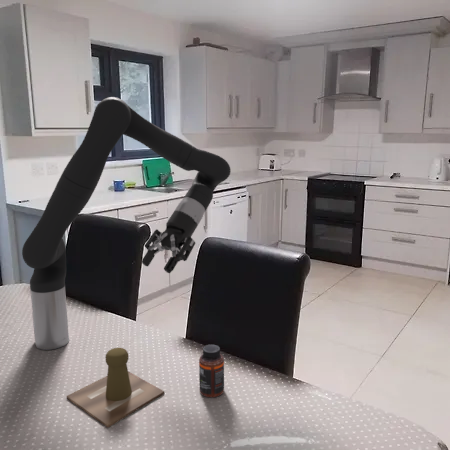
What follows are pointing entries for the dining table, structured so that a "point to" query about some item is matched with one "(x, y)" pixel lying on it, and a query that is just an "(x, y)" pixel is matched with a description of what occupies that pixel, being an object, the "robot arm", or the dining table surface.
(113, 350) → the olive pawn figure
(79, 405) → the board
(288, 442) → the dining table surface
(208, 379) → the supplement bottle
